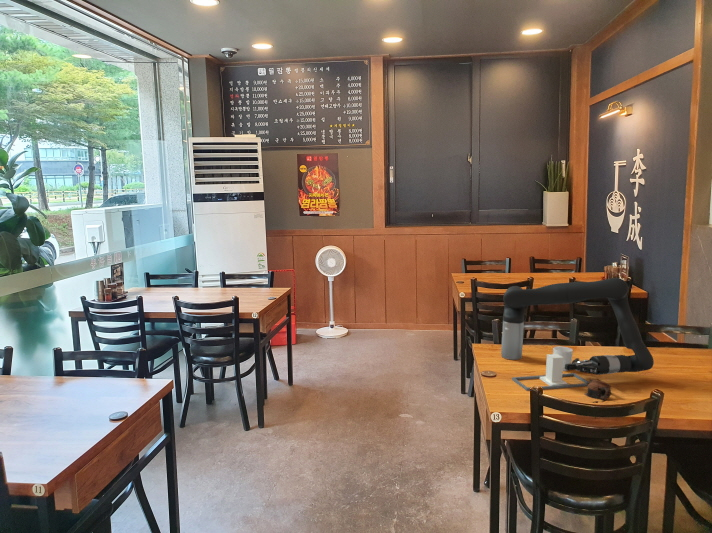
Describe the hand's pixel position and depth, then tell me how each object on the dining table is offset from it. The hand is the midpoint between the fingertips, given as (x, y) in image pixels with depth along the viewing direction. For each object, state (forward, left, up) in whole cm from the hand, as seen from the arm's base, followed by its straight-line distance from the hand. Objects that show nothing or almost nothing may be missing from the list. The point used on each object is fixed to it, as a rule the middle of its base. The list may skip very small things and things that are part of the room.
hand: (566, 367), depth 212 cm
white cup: (-15, +8, -8) cm, 19 cm away
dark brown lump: (+15, +4, -8) cm, 18 cm away
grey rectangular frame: (0, -6, -8) cm, 10 cm away
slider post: (0, -5, -6) cm, 8 cm away
